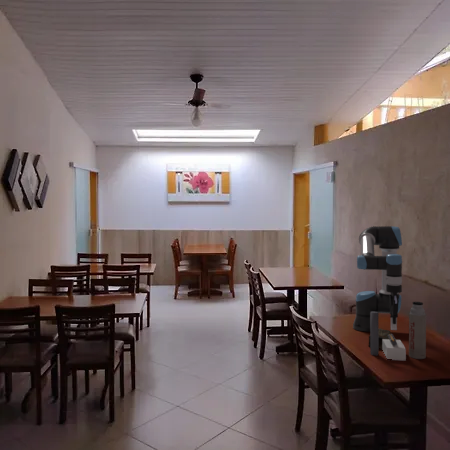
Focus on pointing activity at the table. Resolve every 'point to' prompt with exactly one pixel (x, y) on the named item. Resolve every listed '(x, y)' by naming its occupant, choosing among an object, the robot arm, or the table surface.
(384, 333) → the beverage carton
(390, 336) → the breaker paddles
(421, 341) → the thermos bottle
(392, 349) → the breaker box
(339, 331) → the table surface
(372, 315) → the post
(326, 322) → the table surface
